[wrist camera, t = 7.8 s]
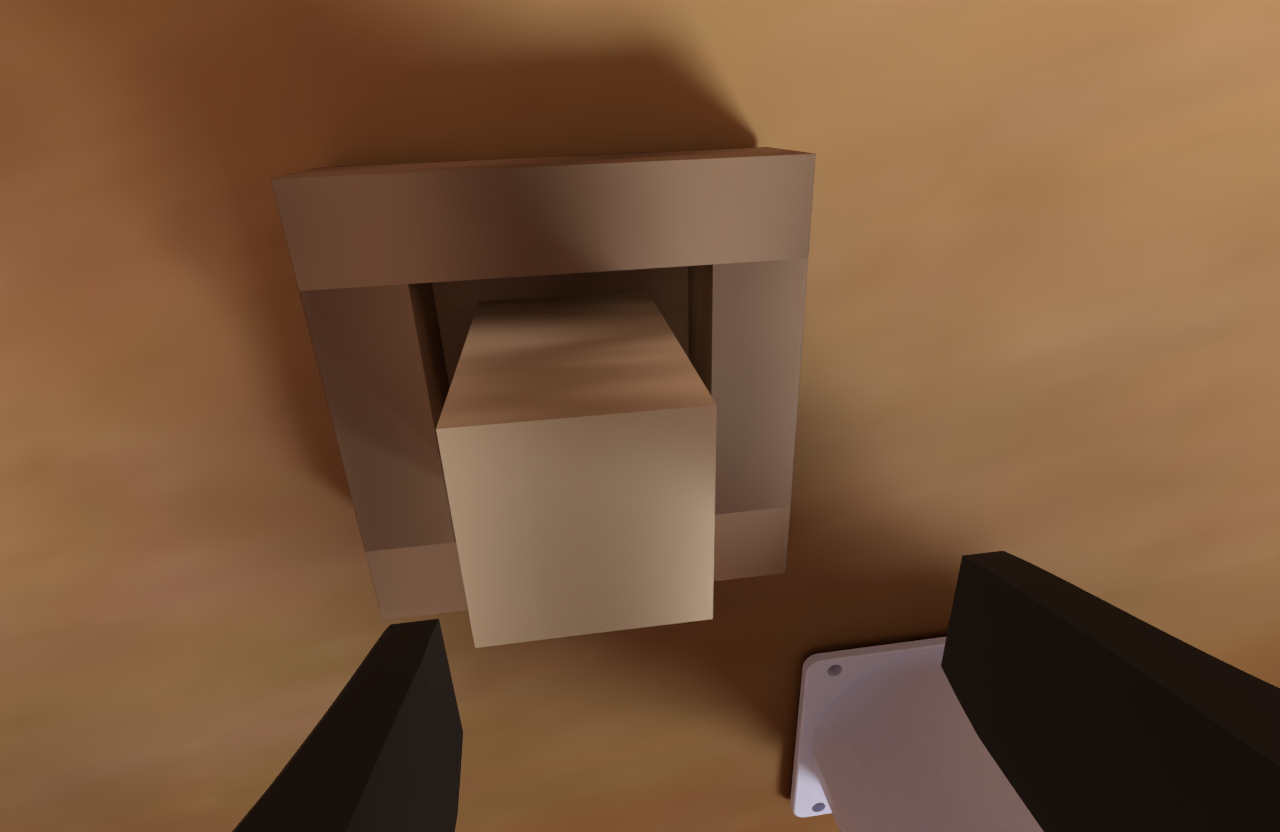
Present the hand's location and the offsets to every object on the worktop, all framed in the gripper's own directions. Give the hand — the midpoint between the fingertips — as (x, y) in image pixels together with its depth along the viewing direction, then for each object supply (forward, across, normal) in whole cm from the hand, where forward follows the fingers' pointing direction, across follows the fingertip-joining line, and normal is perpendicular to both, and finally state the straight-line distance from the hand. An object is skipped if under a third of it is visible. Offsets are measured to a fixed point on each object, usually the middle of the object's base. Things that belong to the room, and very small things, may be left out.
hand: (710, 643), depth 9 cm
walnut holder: (+9, +2, -1) cm, 9 cm away
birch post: (+9, +2, -1) cm, 9 cm away
